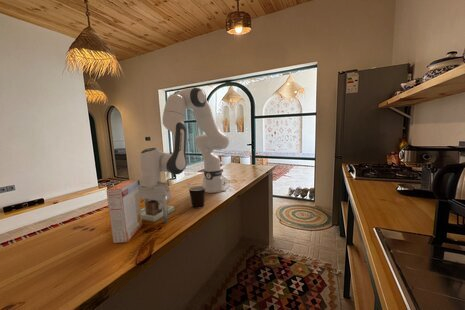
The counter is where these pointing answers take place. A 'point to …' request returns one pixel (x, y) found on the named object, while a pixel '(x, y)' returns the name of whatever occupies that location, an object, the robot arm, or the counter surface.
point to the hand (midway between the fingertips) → (153, 207)
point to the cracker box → (124, 210)
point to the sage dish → (156, 217)
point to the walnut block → (152, 207)
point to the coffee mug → (197, 196)
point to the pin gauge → (165, 209)
